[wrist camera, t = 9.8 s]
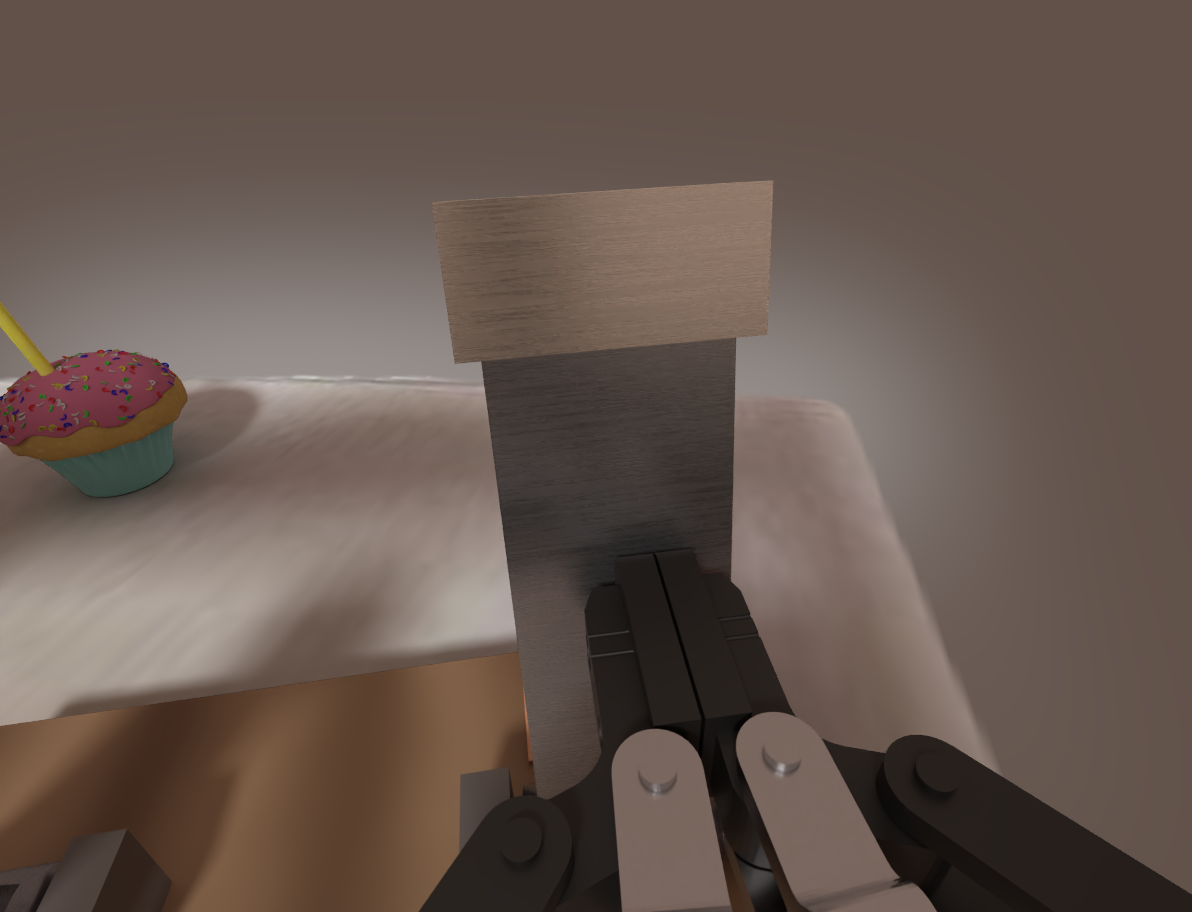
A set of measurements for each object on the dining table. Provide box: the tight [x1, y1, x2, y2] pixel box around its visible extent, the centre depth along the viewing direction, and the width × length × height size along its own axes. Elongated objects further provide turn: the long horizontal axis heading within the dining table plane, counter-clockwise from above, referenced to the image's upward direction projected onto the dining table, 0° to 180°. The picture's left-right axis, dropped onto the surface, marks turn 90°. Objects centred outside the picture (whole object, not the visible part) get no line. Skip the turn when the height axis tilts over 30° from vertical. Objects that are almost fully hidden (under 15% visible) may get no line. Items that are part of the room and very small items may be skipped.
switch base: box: [0, 652, 747, 912], centre depth 16 cm, size 26×14×6 cm, turn 99°
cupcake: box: [0, 302, 187, 497], centre depth 35 cm, size 9×8×12 cm
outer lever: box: [432, 180, 773, 860], centre depth 14 cm, size 5×2×16 cm, turn 99°
